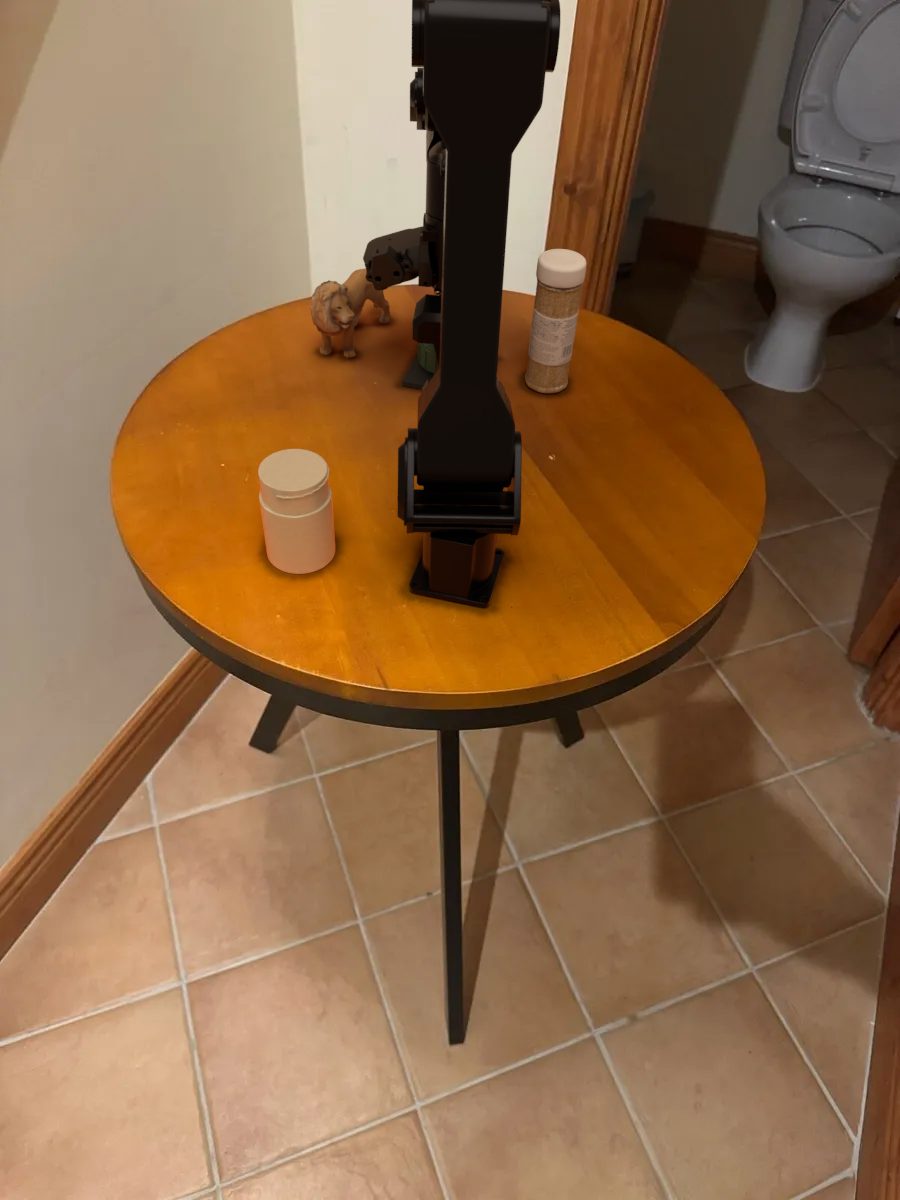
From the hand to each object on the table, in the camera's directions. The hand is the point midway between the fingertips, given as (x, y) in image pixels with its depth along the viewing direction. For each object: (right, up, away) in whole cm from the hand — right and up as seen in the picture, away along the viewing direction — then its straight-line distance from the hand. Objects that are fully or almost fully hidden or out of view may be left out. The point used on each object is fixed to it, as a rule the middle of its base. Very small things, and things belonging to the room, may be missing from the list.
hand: (449, 362), depth 93 cm
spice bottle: (+10, -2, 0) cm, 10 cm away
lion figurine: (-10, +3, +4) cm, 12 cm away
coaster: (0, -1, +1) cm, 1 cm away
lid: (0, +2, -2) cm, 3 cm away
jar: (-12, -21, -19) cm, 30 cm away
